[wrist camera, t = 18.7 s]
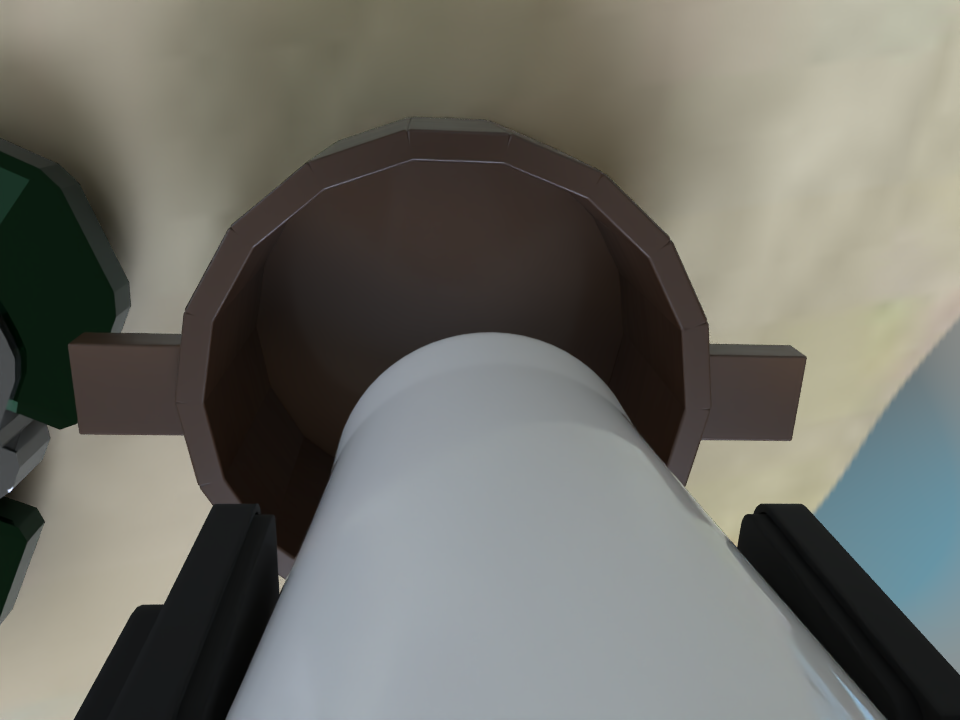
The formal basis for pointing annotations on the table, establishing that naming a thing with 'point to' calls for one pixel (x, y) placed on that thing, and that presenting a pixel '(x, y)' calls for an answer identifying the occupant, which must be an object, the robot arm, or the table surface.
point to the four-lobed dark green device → (43, 328)
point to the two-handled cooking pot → (421, 312)
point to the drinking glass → (523, 567)
